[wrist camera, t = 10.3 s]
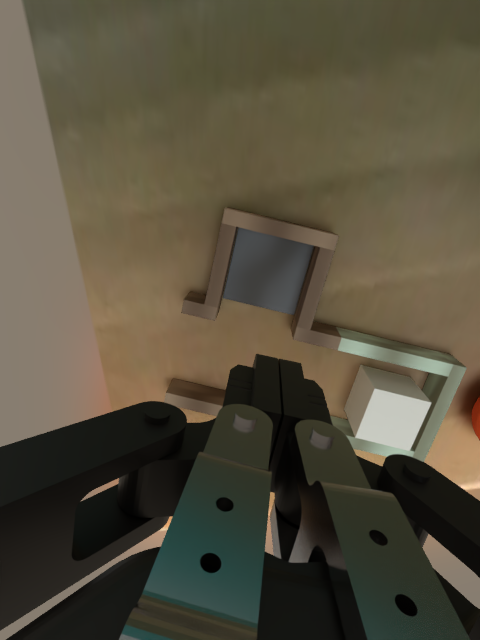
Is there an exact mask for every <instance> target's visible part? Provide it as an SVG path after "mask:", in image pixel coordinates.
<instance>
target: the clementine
mask: <svg viewBox="0 0 480 640" xmlns="http://www.w3.org/2000/svg"><path fill="white" fill-rule="evenodd" d="M472 425H473V428H474V431H475V434H476V435H477V437H478V438H479V440H480V397H479V398H478V399H477V401H476V403H475V404H474V406H473V410H472Z"/></svg>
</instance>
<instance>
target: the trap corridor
mask: <svg viewBox="0 0 480 640" xmlns="http://www.w3.org/2000/svg"><path fill="white" fill-rule="evenodd" d="M238 227H239V229H238V233H237V228H238ZM236 233H237V238H236V242H235V237H236ZM338 239H339V236H338V235H336V234H334V233H332V232H327V231H323V230H319V229H315V228H311V227H307V226H303V225H299V224H295V223H291V222H286V221H282V220H278V219H274V218H270V217H266V216H262V215H258V214H254V213H250V212H245V211H241V210H237V209H233V208H229V207H227V208H225V209H224V214H223V219H222V223H221V228H220V233H219V238H218V242H217V247H216V252H215V256H214V261H213V266H212V271H211V275H210V280H209V285H208V290H207V294H206V295H202V294H197V293H193V292H190V293H189V294H188V295H187V297H186V298H185V299H184V302H183V307H182V312H181V313H184V314H189V315H193V316H197V317H201V318H205V319H209V320H214V321H215V320H216V317H217V315H218V312H219V309H220V304H221V300H222V295H223V291H224V286H225V282H226V277H227V273H228V269H229V264H230V260H231V255H232V251H233V246H234V242H235V247H234V251H233V255H232V260H231V264H230V269H229V273H228V278H227V282H226V286H225V291H224V295H223V298H225V299H229V300H233V301H238V302H242V303H246V304H250V305H254V306H258V307H263V308H267V309H271V310H275V311H279V312H283V313H287V314H292V315H294V313H295V316H294V319H293V323H292V326H291V332H292V337H293V340H297V341H301V342H305V343H309V344H314V345H318V346H322V347H326V348H330V349H334V350H339V351H343V352H347V353H351V354H355V355H359V356H364V357H368V358H372V359H376V360H380V361H384V362H389V363H393V364H397V365H401V366H405V367H409V368H414V369H418V370H422V371H426V372H430V373H429V375H428V377H427V380H426V382H425V384H424V387H423V389H422V392H423V393H424V394H425V395H426V396H427V398H428V399H429V400H430V401H431V402H432V403H431V405H430V407H429V410H428V412H427V414H426V416H425V418H424V421H423V423H422V425H421V427H420V429H419V432H418V434H417V436H416V438H415V441H414V443H413V445H412V447H411V449H410V451H407V450H403V449H399V448H395V447H391V446H387V445H383V444H379V443H375V442H371V441H367V440H363V439H359V438H355V436H354V433H353V431H352V428H351V425H350V423H349V420H346V419H342V418H338V417H334V416H330V417H331V421H332V424H333V426H335V427H336V428H338V429H339V430H341V431H342V432H343V433H344V434H345V435H346V436H347V437H348V439H349V441H350V443H351V445H352V448H353V449H357V450H361V451H366V452H370V453H374V454H378V455H383V456H389V455H392V454H402V455H407V456H411V457H413V458H416V459H418V460H420V461H422V462H424V460H425V458H426V456H427V454H428V452H429V449H430V447H431V445H432V443H433V441H434V439H435V436H436V434H437V432H438V430H439V428H440V425H441V423H442V421H443V419H444V417H445V414H446V412H447V410H448V408H449V406H450V404H451V401H452V399H453V397H454V395H455V393H456V390H457V388H458V386H459V384H460V382H461V380H462V377H463V375H464V373H465V371H466V369H467V367H465V366H464V365H463V364H462V363H460V362H459V361H458V360H457V359H456V358H454V357H453V356H452V355H451V354H447V353H442V352H438V351H434V350H430V349H426V348H422V347H418V346H413V345H409V344H405V343H401V342H397V341H393V340H388V339H384V338H380V337H376V336H372V335H368V334H364V333H359V332H355V331H351V330H347V329H343V328H339V327H335V326H330V325H326V324H322V323H318V322H314V321H313V320H314V317H315V313H316V310H317V307H318V304H319V300H320V297H321V294H322V291H323V287H324V284H325V281H326V278H327V274H328V271H329V268H330V265H331V261H332V258H333V255H334V252H335V248H336V245H337V242H338ZM314 246H315V247H314ZM313 247H314V250H313ZM312 251H313V254H312ZM311 254H312V257H311ZM310 258H311V261H310ZM309 261H310V264H309ZM308 265H309V268H308ZM307 268H308V271H307ZM306 272H307V275H306ZM305 275H306V278H305ZM304 278H305V281H304ZM303 282H304V285H303ZM302 285H303V288H302ZM301 289H302V292H301ZM300 292H301V295H300ZM299 296H300V299H299ZM298 299H299V302H298ZM297 303H298V306H297ZM296 306H297V309H296ZM295 310H296V312H295ZM225 392H226V391H224V390H220V389H216V388H212V387H207V386H203V385H199V384H195V383H191V382H186V381H182V380H178V379H174V378H173V380H172V382H171V384H170V386H169V388H168V390H167V392H166V395H165V401H164V403H168V404H171V405H173V406H176V407H180V408H184V409H188V410H193V411H197V412H201V413H205V414H209V415H214V416H217V415H218V412H219V410H220V409H221V408H222V406H223V402H224V397H225Z"/></svg>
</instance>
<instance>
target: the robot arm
mask: <svg viewBox="0 0 480 640" xmlns="http://www.w3.org/2000/svg"><path fill="white" fill-rule="evenodd" d="M117 478H119V484H117V485H115V486H113V487H111V488H109V489H107V490H105V491H102V492H100V493H98V494H96V495H94V496H92V497H90V498H88V499H86V500H83V501H81V500H82V499H83V498H84V497H85V496H86V495H87V494H88V493H89V492H91V491H92V490H94V489H96V488H98V487H100V486H102V485H104V484H107V483H109V482H111V481H113V480H115V479H117ZM270 492H275V499H274V503H273V506H272V510H271V513H270V522H271V532H272V542H273V552H274V556H273V555H271V554H269V553H267V552H265V541H266V531H267V520H268V510H269V499H270ZM80 501H81V502H80ZM169 516H173V518H172V520H171V523H170V525H169V528H168V530H167V533H166V535H165V538H164V540H163V543H162V546H161V547H156V548H152V549H148V550H145V551H142V552H139V553H137V554H134V555H131V556H130V557H128V558H126V559H124V560H122V561H120V562H118V563H117V564H115V565H113V566H112V567H110V568H109V569H108V570H106V571H105V572H103V573H102V574H100V575H99V576H98V577H96V578H95V579H93V580H92V581H90V582H89V583H87V584H86V585H84V586H83V587H81V588H80V589H79V590H77V591H76V592H74V593H73V594H71V595H70V596H68V597H67V598H66V599H64V600H63V601H61V602H60V603H58V604H57V605H55V606H54V607H53V608H51V609H50V610H48V611H47V612H45V613H44V614H42V615H41V616H40V617H38V618H37V619H35V620H34V621H32V622H31V623H29V624H28V625H27V626H25V627H24V628H22V629H21V630H19V631H18V632H17V633H15V634H13V635H12V636H11V637H9V638H8V639H6V640H480V609H478V608H477V607H475V606H474V605H473V604H472V603H470V601H468V600H467V599H466V598H465V597H464V596H463V595H462V594H461V593H460V592H459V591H458V590H456V589H455V588H454V587H453V586H452V585H451V584H450V583H449V582H448V581H447V580H446V579H444V578H443V577H442V576H441V575H440V574H439V573H438V572H437V571H436V570H434V569H433V568H432V565H431V563H430V562H429V560H428V558H427V556H426V554H425V552H424V550H423V548H422V547H423V545H424V543H425V540H426V538H427V536H428V534H430V535H431V536H432V537H434V538H435V539H436V540H437V541H438V542H439V543H441V544H442V545H443V546H444V547H445V548H446V549H448V550H449V551H450V552H451V553H452V554H453V555H455V556H456V557H457V558H458V559H459V560H460V561H462V562H463V563H464V564H465V565H466V566H467V567H469V568H470V569H471V570H472V571H473V572H474V573H475V574H477V576H478V577H479V578H480V501H479V500H478V499H476V498H475V497H473V496H472V495H470V494H469V493H468V492H466V491H465V490H463V489H462V488H461V487H459V486H458V485H456V484H455V483H453V482H452V481H451V480H449V479H448V478H446V477H445V476H444V475H442V474H441V473H439V472H438V471H436V470H435V469H434V468H432V467H431V466H429V465H428V464H426V463H424V462H422V461H420V460H418V459H416V458H413V457H411V456H407V455H402V454H392V455H389V456H387V458H386V459H385V461H384V464H383V467H382V466H379V465H377V464H375V463H372V462H370V461H367V460H365V459H363V458H361V457H359V456H357V455H356V454H355V452H354V450H353V448H352V445H351V443H350V441H349V439H348V437H347V436H346V435H345V434H344V433H343V432H342V431H341V430H339V429H338V428H336V427H335V426H333V424H332V421H331V417H330V414H329V410H328V407H327V403H326V400H325V396H324V393H323V390H322V389H321V388H320V386H319V385H318V384H317V383H316V382H315V381H313V380H308V379H304V375H303V371H302V366H301V363H297V362H293V361H288V360H283V359H279V360H278V358H274V357H269V356H264V355H260V354H256V356H255V360H254V364H253V368H252V367H247V366H243V365H237V366H235V367H234V368H232V369H231V370H230V374H229V379H228V383H227V388H226V392H225V397H224V402H223V406H222V408H221V409H220V410H219V412H218V415H217V417H216V418H215V419H213V420H210V421H207V422H201V423H187V419H186V416H185V414H184V413H183V412H182V411H181V410H180V409H179V408H177V407H176V406H173V405H171V404H168V403H164V402H156V401H150V402H143V403H139V404H136V405H132V406H129V407H126V408H123V409H120V410H117V411H113V412H110V413H107V414H104V415H101V416H98V417H94V418H91V419H88V420H85V421H82V422H79V423H75V424H72V425H69V426H66V427H63V428H60V429H56V430H53V431H50V432H47V433H44V434H40V435H37V436H34V437H31V438H28V439H24V440H21V441H18V442H15V443H12V444H9V445H5V446H2V447H0V630H2V629H3V628H5V627H6V626H8V625H10V624H11V623H13V622H14V621H16V620H18V619H19V618H21V617H22V616H24V615H26V614H27V613H29V612H30V611H32V610H33V609H35V608H37V607H38V606H40V605H41V604H43V603H45V602H46V601H48V600H49V599H51V598H52V597H54V596H56V595H57V594H59V593H60V592H62V591H63V590H65V589H66V588H68V587H70V586H71V585H73V584H75V583H76V582H78V581H79V580H81V579H82V578H84V577H85V576H87V575H89V574H90V573H92V572H94V571H95V570H97V569H98V568H100V567H101V566H103V565H105V564H106V563H108V562H109V561H111V560H112V559H114V558H116V557H117V556H119V555H120V554H122V553H124V552H125V551H127V550H128V549H130V548H131V547H133V546H135V545H136V544H138V543H139V542H141V541H143V540H144V539H146V538H147V537H149V536H150V535H152V534H154V533H155V532H157V531H158V530H160V529H161V528H162V527H163V526H164V525H165V524H166V523H167V521H168V519H169Z"/></svg>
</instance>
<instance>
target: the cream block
mask: <svg viewBox="0 0 480 640" xmlns="http://www.w3.org/2000/svg"><path fill="white" fill-rule="evenodd" d="M431 403H432V402H431V401H430V400H429V399H428V398H427V396H426V395H425V394H424V393H423V392H422V390H421V389H420V388H419V387H418V386H417V384H416V383H415V382H414V381H413V380H412V378H411V377H408V376H404V375H400V374H396V373H392V372H388V371H384V370H380V369H376V368H372V367H368V366H364V365H360V368H359V370H358V373H357V376H356V378H355V381H354V384H353V386H352V389H351V392H350V394H349V397H348V400H347V402H346V405H345V408H344V410H345V412H346V415H347V418H348V420H349V423H350V425H351V428H352V431H353V433H354V436H355V438H359V439H363V440H367V441H371V442H375V443H379V444H383V445H387V446H391V447H395V448H399V449H403V450H407V451H410V449H411V447H412V445H413V443H414V441H415V438H416V436H417V434H418V432H419V429H420V427H421V425H422V423H423V421H424V418H425V416H426V414H427V412H428V410H429V407H430V405H431Z"/></svg>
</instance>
